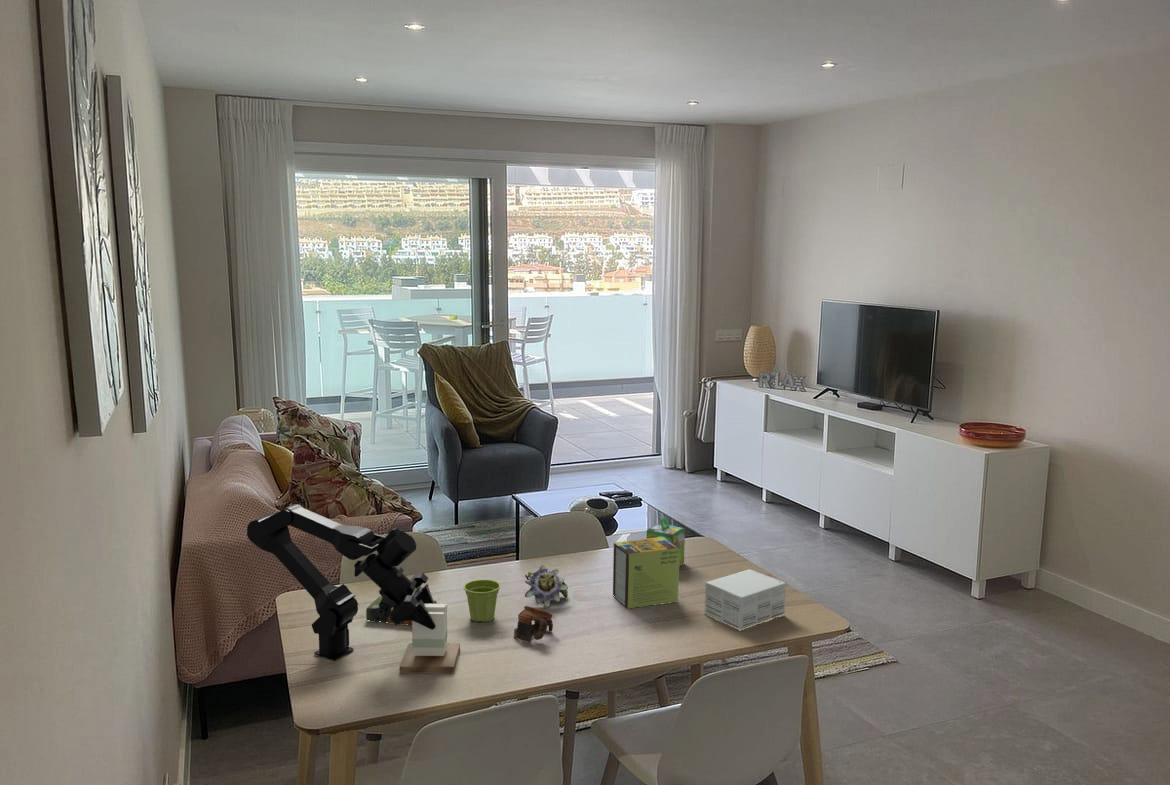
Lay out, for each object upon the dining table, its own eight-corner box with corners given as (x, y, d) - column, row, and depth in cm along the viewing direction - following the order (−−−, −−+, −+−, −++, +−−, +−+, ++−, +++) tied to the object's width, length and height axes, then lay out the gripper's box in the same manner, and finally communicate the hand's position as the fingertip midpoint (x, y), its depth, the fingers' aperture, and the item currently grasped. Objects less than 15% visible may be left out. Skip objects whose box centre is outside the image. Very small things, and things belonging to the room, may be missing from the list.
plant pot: (456, 617, 223) (456, 585, 221) (485, 607, 229) (485, 576, 228) (478, 628, 216) (478, 595, 215) (507, 618, 223) (507, 586, 221)
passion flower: (546, 625, 232) (524, 597, 226) (532, 604, 241) (511, 576, 235) (580, 599, 233) (559, 571, 227) (565, 579, 243) (545, 551, 237)
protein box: (679, 602, 235) (680, 547, 233) (627, 609, 229) (628, 553, 227) (661, 589, 244) (663, 536, 242) (611, 595, 239) (612, 541, 237)
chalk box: (672, 572, 258) (673, 524, 256) (644, 566, 262) (646, 519, 260) (685, 563, 266) (686, 516, 263) (658, 558, 270) (659, 512, 268)
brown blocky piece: (504, 635, 214) (515, 602, 216) (537, 646, 217) (547, 613, 220) (525, 641, 203) (536, 606, 206) (559, 652, 207) (569, 618, 210)
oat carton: (412, 655, 195) (411, 610, 193) (416, 644, 200) (416, 600, 199) (443, 655, 195) (443, 610, 193) (447, 645, 201) (447, 600, 199)
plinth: (399, 673, 192) (399, 666, 192) (409, 649, 204) (408, 643, 204) (453, 673, 192) (453, 666, 192) (460, 649, 204) (459, 643, 204)
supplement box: (747, 600, 237) (749, 568, 235) (785, 616, 226) (786, 582, 225) (703, 615, 227) (704, 580, 225) (740, 632, 216) (741, 596, 215)
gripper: (370, 584, 205) (418, 629, 207) (351, 616, 186) (403, 665, 188) (403, 553, 204) (450, 598, 206) (387, 581, 185) (439, 631, 187)
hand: (436, 622), depth 197 cm, fingers closed on oat carton, 5 cm apart
